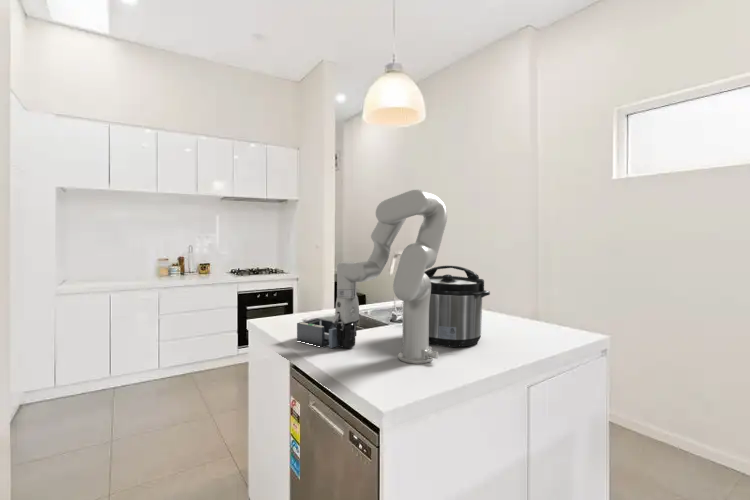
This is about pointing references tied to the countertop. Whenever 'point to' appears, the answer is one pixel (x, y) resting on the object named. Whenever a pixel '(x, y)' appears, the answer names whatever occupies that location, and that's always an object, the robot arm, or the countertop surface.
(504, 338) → the countertop surface
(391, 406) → the countertop surface
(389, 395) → the countertop surface
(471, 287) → the pressure cooker
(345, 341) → the supplement bottle
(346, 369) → the countertop surface
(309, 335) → the box
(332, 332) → the gauge plunger
